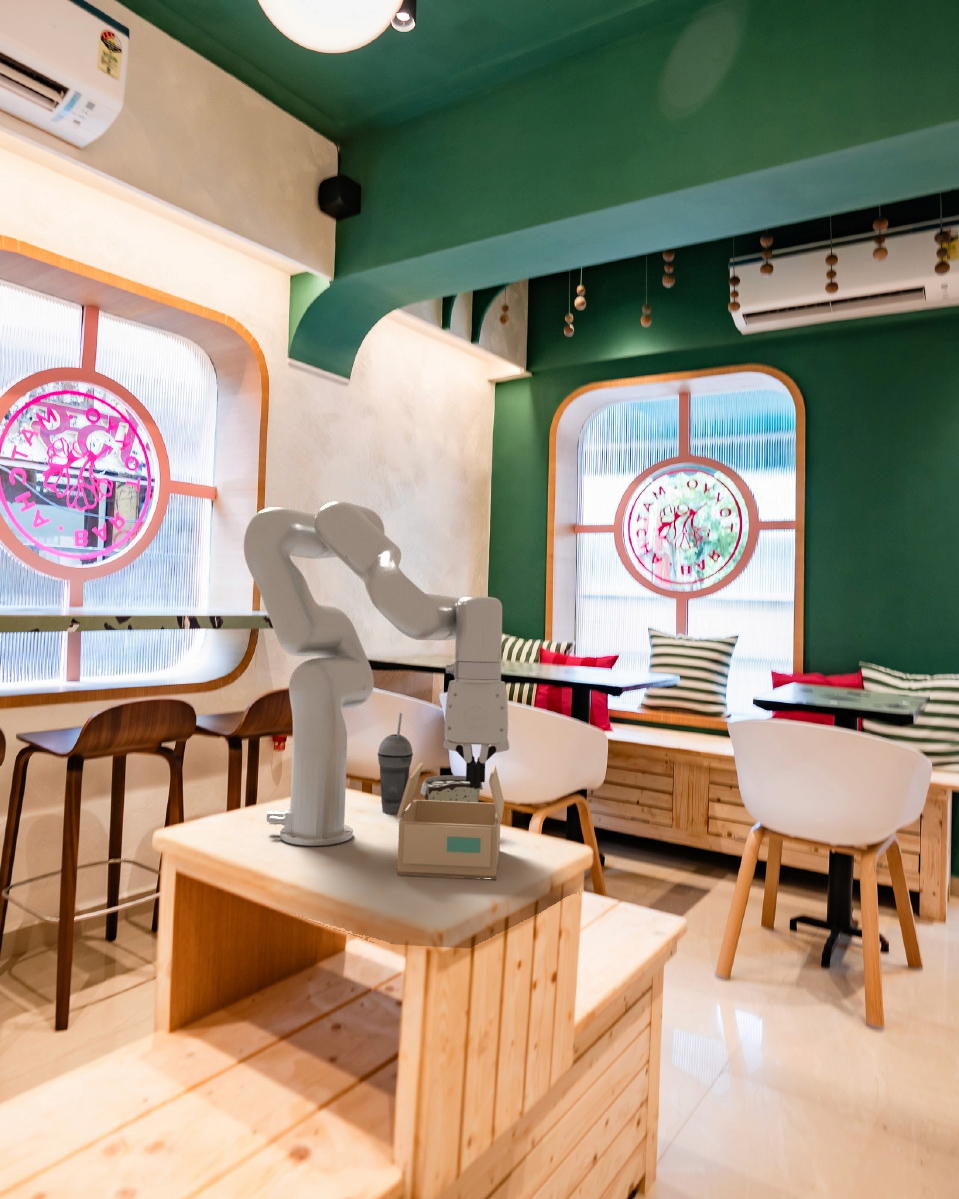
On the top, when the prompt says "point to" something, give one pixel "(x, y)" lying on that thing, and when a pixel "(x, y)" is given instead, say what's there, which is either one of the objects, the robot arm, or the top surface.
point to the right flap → (496, 793)
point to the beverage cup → (394, 769)
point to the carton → (449, 840)
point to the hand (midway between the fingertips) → (475, 786)
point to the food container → (449, 789)
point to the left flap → (409, 790)
